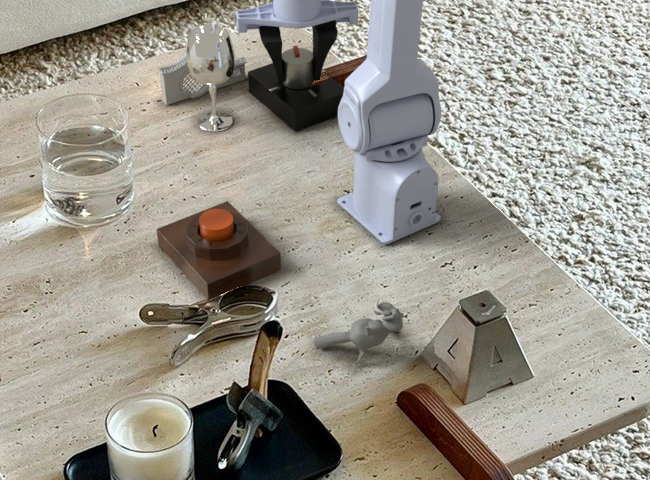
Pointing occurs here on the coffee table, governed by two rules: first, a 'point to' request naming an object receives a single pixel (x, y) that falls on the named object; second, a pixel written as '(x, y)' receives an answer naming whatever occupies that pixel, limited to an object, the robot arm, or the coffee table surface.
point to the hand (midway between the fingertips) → (298, 77)
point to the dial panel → (295, 98)
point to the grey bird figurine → (366, 330)
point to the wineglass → (211, 68)
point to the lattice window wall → (178, 71)
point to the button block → (219, 254)
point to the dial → (298, 68)
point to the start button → (216, 225)
